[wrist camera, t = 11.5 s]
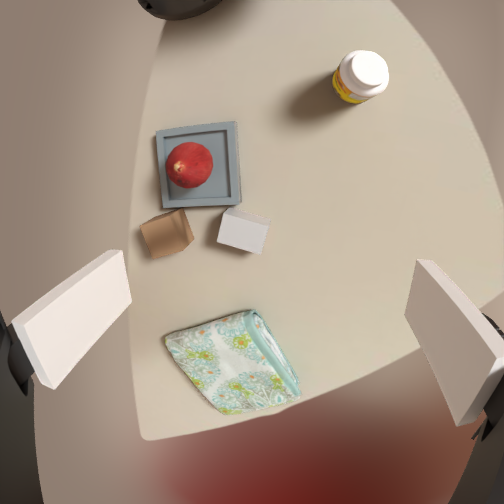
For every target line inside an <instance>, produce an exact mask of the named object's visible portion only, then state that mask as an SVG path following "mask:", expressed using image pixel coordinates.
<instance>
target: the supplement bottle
mask: <svg viewBox="0 0 504 504" xmlns="http://www.w3.org/2000/svg"><path fill="white" fill-rule="evenodd" d="M388 80H389V74H388V67H387V64H386V62H385V61H384V60H383V58H382V57H381V56H379V55H378V54H376V53H374V52H371V51H362V50H358V51H353V52H351V53H349V54H347V55H346V56H345V57H344V58H343V60H342V61H341V63H340V65H339V66H338V68H337V70H336V71H335V73H334V75H333V78H332V85H333V89H334V91H335V93H336V94H337V95H338V97H339V98H341V99H342V100H344V101H345V102H348V103H352V104H359V103H362V102H365V101H367V100H368V99H370V98H372V97H374V96H376V95H378V94H380V93H381V92H382V91H383V90H384V89H385V88H386V86H387V84H388Z"/></svg>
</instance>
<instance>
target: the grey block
mask: <svg viewBox="0 0 504 504" xmlns="http://www.w3.org/2000/svg"><path fill="white" fill-rule="evenodd" d="M270 222H271V219H270V218H266V217H263V216H260V215H256V214H253V213H249V212H246V211H243V210H239V209H236V208H232V207H229V208H228V209H227V210H226V211H225V212H224V213H223V217H222V222H221V226H220V230H219V234H218V238H217V242H219V243H222V244H226V245H229V246H232V247H236V248H239V249H243V250H246V251H249V252H253V253H256V254H259V255H261V252H262V249H263V245H264V242H265V239H266V235H267V232H268V229H269V225H270Z"/></svg>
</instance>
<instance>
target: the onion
mask: <svg viewBox="0 0 504 504" xmlns="http://www.w3.org/2000/svg"><path fill="white" fill-rule="evenodd" d="M212 169H213V157H212V155H211V153H210V151H209V150H208V149H207V148H206V147H204V146H203V145H201V144H198V143H195V142H185V143H181V144H180V145H178V146H176V147H174V148H173V150H172V151H171V152H170V154H169V155H168V158H167V161H166V172H167V174H168V177H169V179H170V180H171V181H172V182H173V183H175V184H176V185H177V186H180V187H183V188H185V189H188V188H196V187H198V186H200V185H202V184H203V183H205V182H206V180H207V179H208V178H209V176H210V175H211V172H212Z"/></svg>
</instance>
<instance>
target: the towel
mask: <svg viewBox="0 0 504 504" xmlns="http://www.w3.org/2000/svg"><path fill="white" fill-rule="evenodd" d="M165 345H166V346H167V349H168V351H169V352H171V354H172V356H173V358H174V361H175V362H176V363H177V364H178V366H179V367H180V368H181V369H182V370H183V371H184V372H185V374H186V375H187V376H188V377H189V378H190V380H191V381H192V382H193V383H194V385H195V386H196V387H197V388H198V389H199V391H200V392H201V393H202V394H203V395H204V396H205V397H206V398H207V399H208V401H209V402H210V403H211V404H212V405H213V406H214V407H215V408H216V409H217V410H218V411H219V412H220V413H222V414H224V415H235V414H242V413H246V412H251V411H256V410H261V409H265V408H269V407H273V406H277V405H282V404H286V403H290V402H294V401H296V400H298V399H299V398H300V395H301V391H300V390H299V386H298V385H299V384H300V382H299V380H298V378H297V376H296V374H295V372H294V370H293V368H292V367H291V365H290V364H289V362H288V360H287V359H286V357H285V355H284V353H283V352H282V350H281V348H280V347H279V345H278V343H277V341H276V339H275V338H274V336H273V335H272V333H271V331H270V329H269V328H268V326H267V324H266V323H265V321H264V320H263V318H262V317H261V315H260V314H259V313H258V312H257V311H256V310H250V311H247V312H241V313H237V314H234V315H230V316H227V317H224V318H221V319H218V320H215V321H212V322H209V323H206V324H203V325H200V326H197V327H194V328H190V329H186V330H182V331H178V332H175V333H172V334H169V335H167V336H166V337H165Z"/></svg>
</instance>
